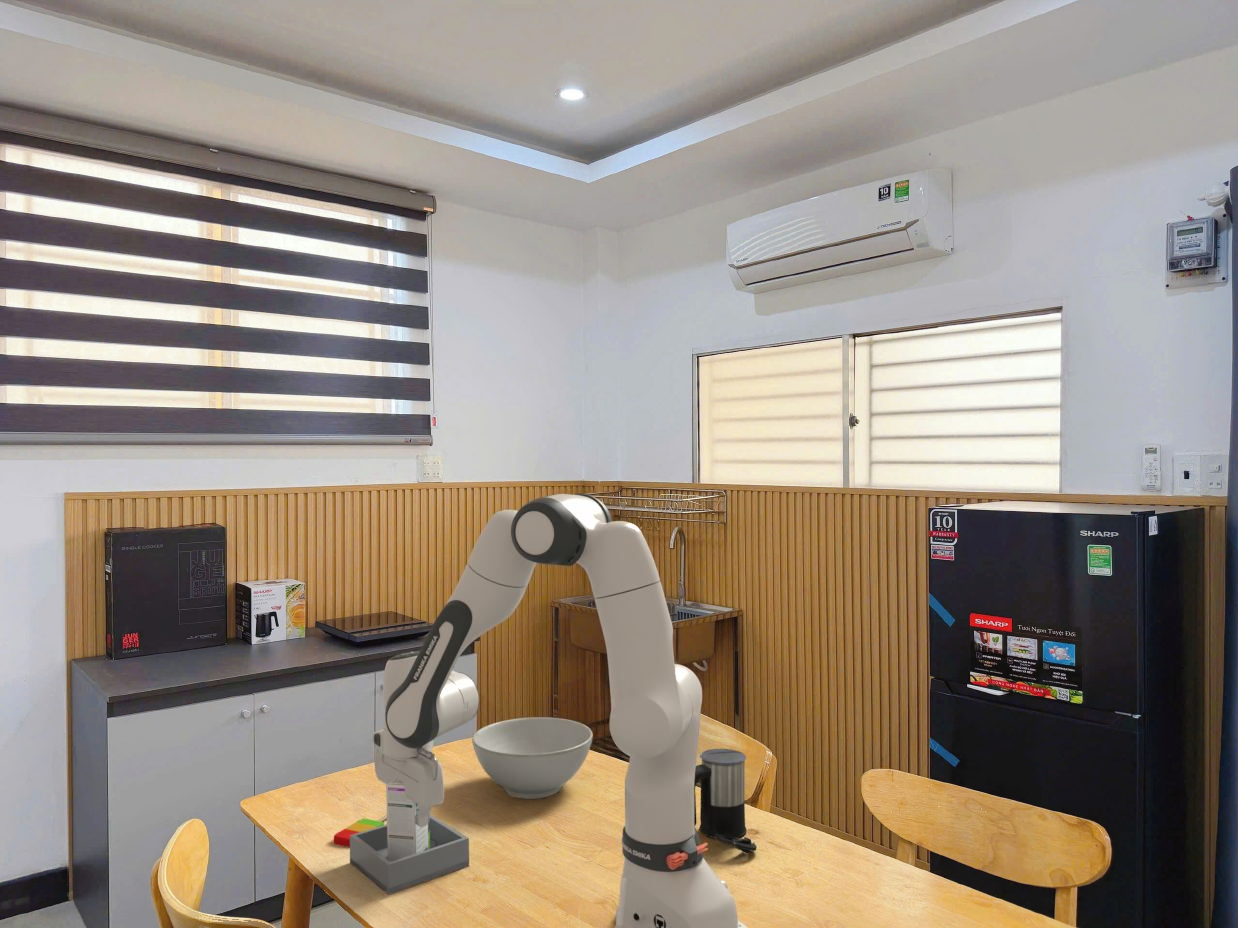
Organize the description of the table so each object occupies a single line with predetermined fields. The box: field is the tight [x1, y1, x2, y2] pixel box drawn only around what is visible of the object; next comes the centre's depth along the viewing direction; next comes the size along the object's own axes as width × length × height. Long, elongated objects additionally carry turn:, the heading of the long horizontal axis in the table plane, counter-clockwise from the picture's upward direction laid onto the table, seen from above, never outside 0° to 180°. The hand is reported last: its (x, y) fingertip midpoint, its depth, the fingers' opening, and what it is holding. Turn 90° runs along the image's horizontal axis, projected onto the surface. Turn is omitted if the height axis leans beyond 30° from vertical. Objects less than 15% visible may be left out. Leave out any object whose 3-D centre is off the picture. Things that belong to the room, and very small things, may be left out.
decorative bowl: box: [471, 716, 594, 800], centre depth 192 cm, size 27×27×12 cm
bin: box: [349, 813, 470, 895], centre depth 156 cm, size 16×16×5 cm
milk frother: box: [694, 748, 758, 854], centre depth 165 cm, size 14×16×15 cm
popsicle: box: [333, 814, 387, 848], centre depth 171 cm, size 6×15×2 cm, turn 157°
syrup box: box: [385, 780, 431, 862], centre depth 156 cm, size 6×6×14 cm
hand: (409, 816), depth 156 cm, fingers open, 8 cm apart
